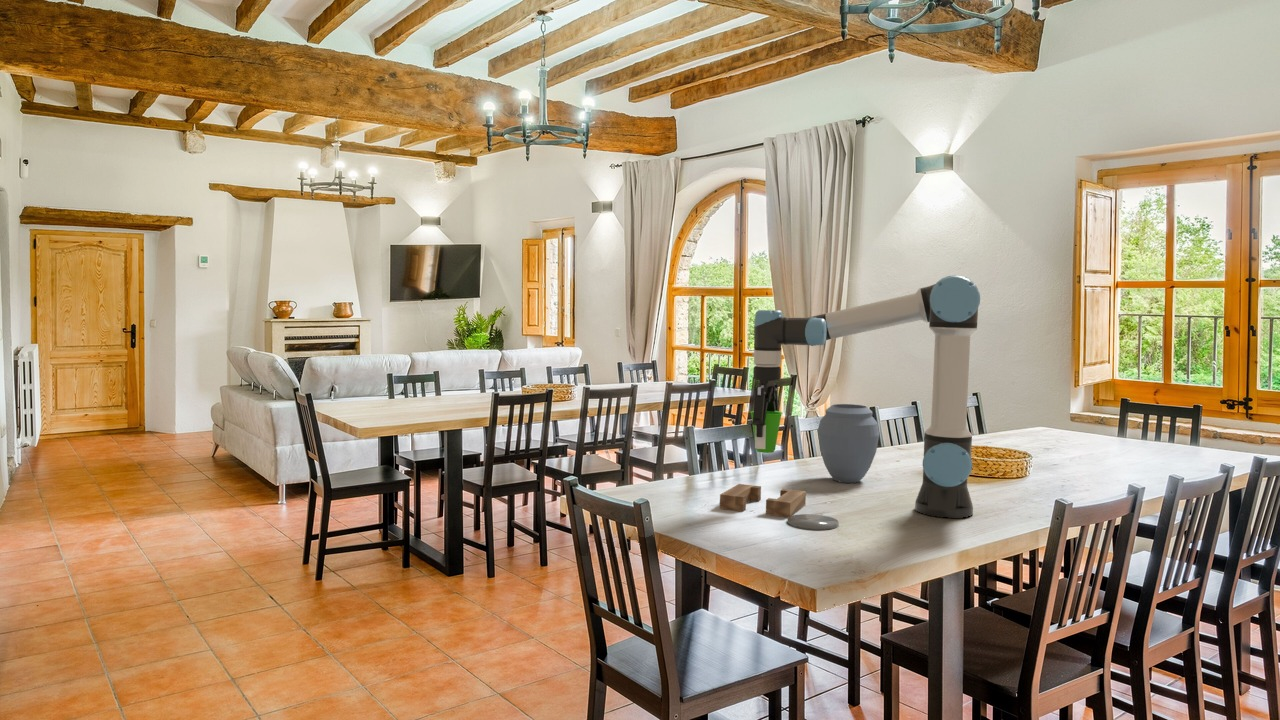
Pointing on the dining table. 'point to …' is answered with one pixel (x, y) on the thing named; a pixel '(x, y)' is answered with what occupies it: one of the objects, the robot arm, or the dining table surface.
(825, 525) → the coaster
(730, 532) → the dining table surface
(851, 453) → the vase
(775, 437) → the cup
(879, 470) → the dining table surface
